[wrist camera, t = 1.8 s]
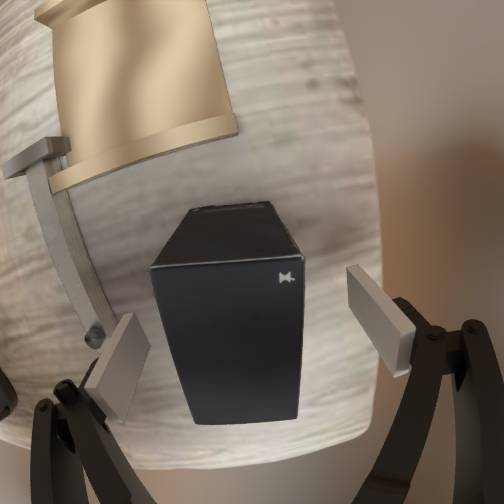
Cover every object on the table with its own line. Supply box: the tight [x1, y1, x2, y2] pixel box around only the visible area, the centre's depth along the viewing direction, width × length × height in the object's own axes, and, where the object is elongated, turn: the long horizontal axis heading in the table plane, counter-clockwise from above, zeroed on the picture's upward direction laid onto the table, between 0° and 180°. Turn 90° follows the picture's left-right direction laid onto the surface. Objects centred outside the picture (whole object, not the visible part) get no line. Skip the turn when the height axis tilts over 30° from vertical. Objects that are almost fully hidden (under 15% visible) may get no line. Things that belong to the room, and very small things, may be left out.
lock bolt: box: [25, 157, 118, 354], centre depth 18 cm, size 2×18×3 cm, turn 12°
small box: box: [149, 201, 305, 425], centre depth 17 cm, size 11×6×10 cm, turn 4°
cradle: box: [2, 0, 238, 194], centre depth 14 cm, size 18×16×4 cm
